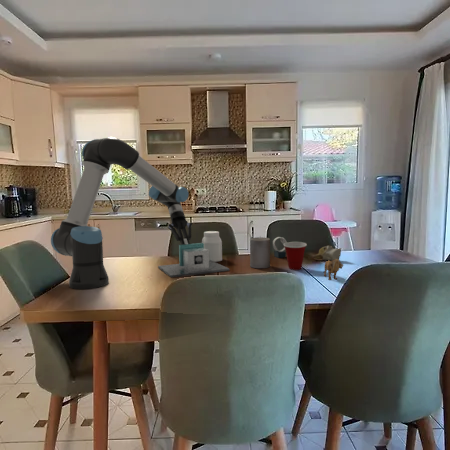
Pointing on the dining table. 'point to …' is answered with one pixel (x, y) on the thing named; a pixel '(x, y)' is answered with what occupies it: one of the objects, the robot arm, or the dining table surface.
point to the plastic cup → (295, 254)
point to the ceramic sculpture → (328, 253)
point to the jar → (213, 245)
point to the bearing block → (193, 264)
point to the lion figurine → (332, 267)
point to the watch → (281, 252)
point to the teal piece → (190, 246)
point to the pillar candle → (259, 252)
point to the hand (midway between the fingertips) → (187, 250)
